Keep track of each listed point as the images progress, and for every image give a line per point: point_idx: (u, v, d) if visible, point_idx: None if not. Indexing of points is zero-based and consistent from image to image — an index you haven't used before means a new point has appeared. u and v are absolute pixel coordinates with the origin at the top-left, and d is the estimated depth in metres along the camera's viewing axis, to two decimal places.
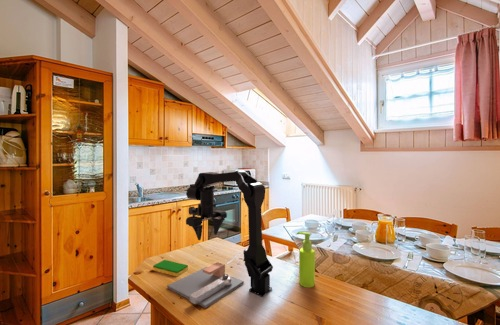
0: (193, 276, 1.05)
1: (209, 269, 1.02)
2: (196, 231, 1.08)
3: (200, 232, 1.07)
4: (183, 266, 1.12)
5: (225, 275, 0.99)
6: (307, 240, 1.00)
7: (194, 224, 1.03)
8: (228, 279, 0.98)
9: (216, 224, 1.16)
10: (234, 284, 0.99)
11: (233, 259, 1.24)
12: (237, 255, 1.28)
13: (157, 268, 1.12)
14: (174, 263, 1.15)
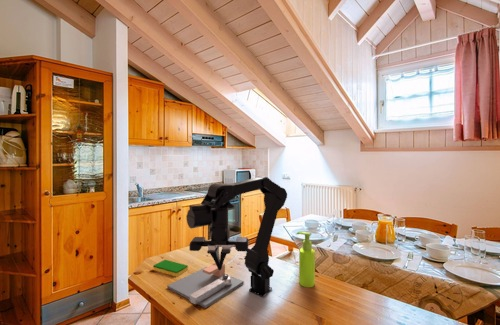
0: (193, 276, 1.05)
1: (209, 269, 1.02)
2: None
3: (215, 260, 0.83)
4: (183, 266, 1.12)
5: (225, 275, 0.99)
6: (307, 240, 1.00)
7: (190, 248, 0.83)
8: (228, 279, 0.98)
9: None
10: (234, 284, 0.99)
11: (233, 259, 1.24)
12: (237, 255, 1.28)
13: (157, 268, 1.12)
14: (174, 263, 1.15)
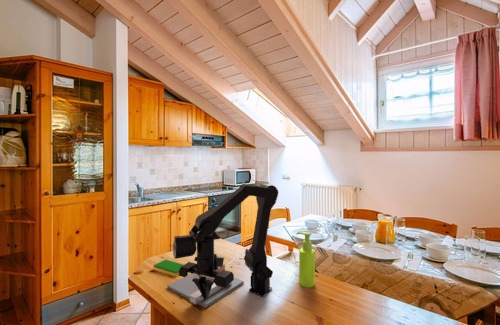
0: (193, 276, 1.05)
1: None
2: None
3: (199, 289, 0.86)
4: None
5: None
6: (307, 240, 1.00)
7: None
8: None
9: None
10: (234, 284, 0.99)
11: (234, 259, 1.24)
12: (238, 255, 1.28)
13: (157, 268, 1.12)
14: (174, 263, 1.15)
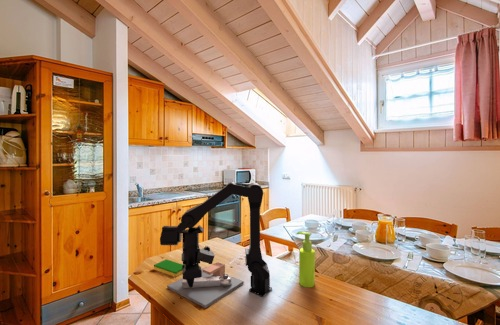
0: None
1: (209, 269, 1.02)
2: None
3: None
4: None
5: (225, 275, 0.99)
6: (307, 240, 1.00)
7: None
8: (224, 280, 0.97)
9: None
10: (234, 284, 0.99)
11: (235, 259, 1.23)
12: (238, 255, 1.28)
13: (157, 267, 1.13)
14: (174, 263, 1.15)
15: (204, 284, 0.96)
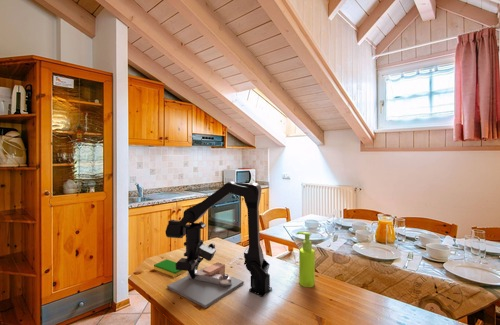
0: None
1: (209, 269, 1.02)
2: None
3: None
4: None
5: (225, 275, 0.99)
6: (307, 240, 1.00)
7: None
8: (222, 279, 0.97)
9: None
10: (234, 284, 0.99)
11: (235, 259, 1.23)
12: (239, 255, 1.28)
13: (157, 267, 1.13)
14: (174, 263, 1.15)
15: (205, 279, 1.00)
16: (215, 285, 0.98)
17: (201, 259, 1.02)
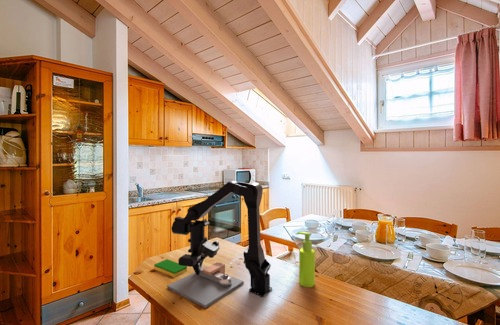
0: (193, 276, 1.05)
1: (209, 269, 1.02)
2: None
3: None
4: (182, 267, 1.11)
5: (225, 275, 0.99)
6: (307, 240, 1.00)
7: None
8: (221, 279, 0.98)
9: None
10: (234, 284, 0.99)
11: (235, 259, 1.23)
12: (239, 255, 1.28)
13: (157, 267, 1.13)
14: (174, 263, 1.15)
15: (208, 276, 1.02)
16: (215, 285, 0.98)
17: (205, 256, 1.05)
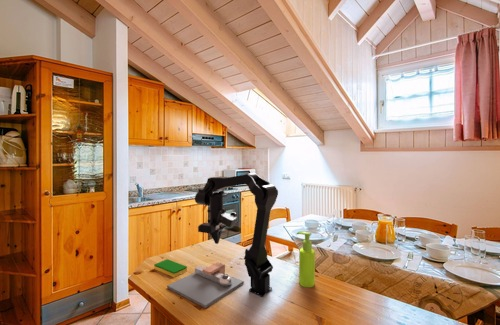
0: (193, 276, 1.05)
1: (209, 269, 1.02)
2: None
3: None
4: (182, 267, 1.11)
5: (225, 275, 0.99)
6: (307, 240, 1.00)
7: None
8: (221, 279, 0.98)
9: None
10: (234, 284, 0.99)
11: None
12: (239, 255, 1.28)
13: (157, 267, 1.13)
14: (174, 263, 1.15)
15: (208, 276, 1.02)
16: (215, 285, 0.98)
17: (224, 226, 1.10)
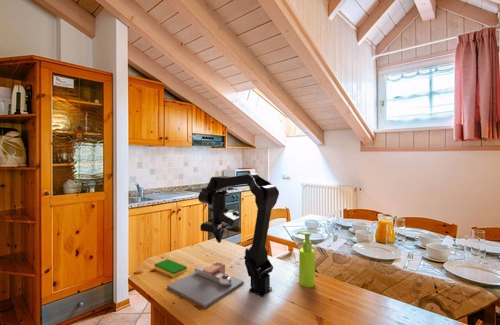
0: (193, 276, 1.05)
1: (209, 269, 1.02)
2: None
3: None
4: (182, 267, 1.11)
5: (225, 275, 0.99)
6: (307, 240, 1.00)
7: None
8: (221, 279, 0.98)
9: None
10: (234, 284, 0.99)
11: (236, 260, 1.23)
12: (240, 255, 1.28)
13: (157, 267, 1.13)
14: (175, 263, 1.15)
15: (208, 276, 1.02)
16: (215, 285, 0.98)
17: (226, 225, 1.11)
